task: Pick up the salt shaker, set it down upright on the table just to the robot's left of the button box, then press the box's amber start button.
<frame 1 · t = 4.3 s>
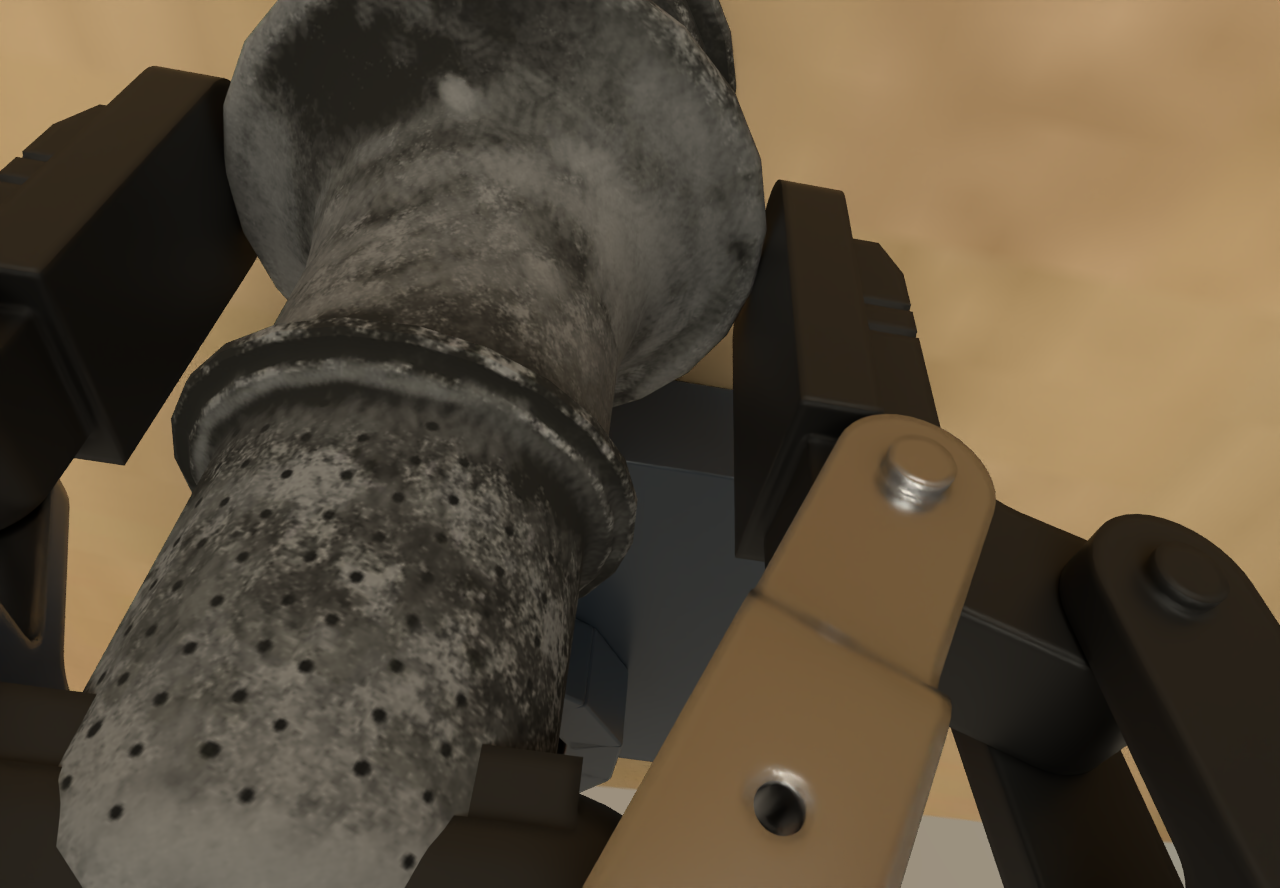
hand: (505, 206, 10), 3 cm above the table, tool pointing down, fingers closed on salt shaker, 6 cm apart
salt shaker: (546, 81, 12), on the table, touching gripper
button box: (552, 551, 20), on the table
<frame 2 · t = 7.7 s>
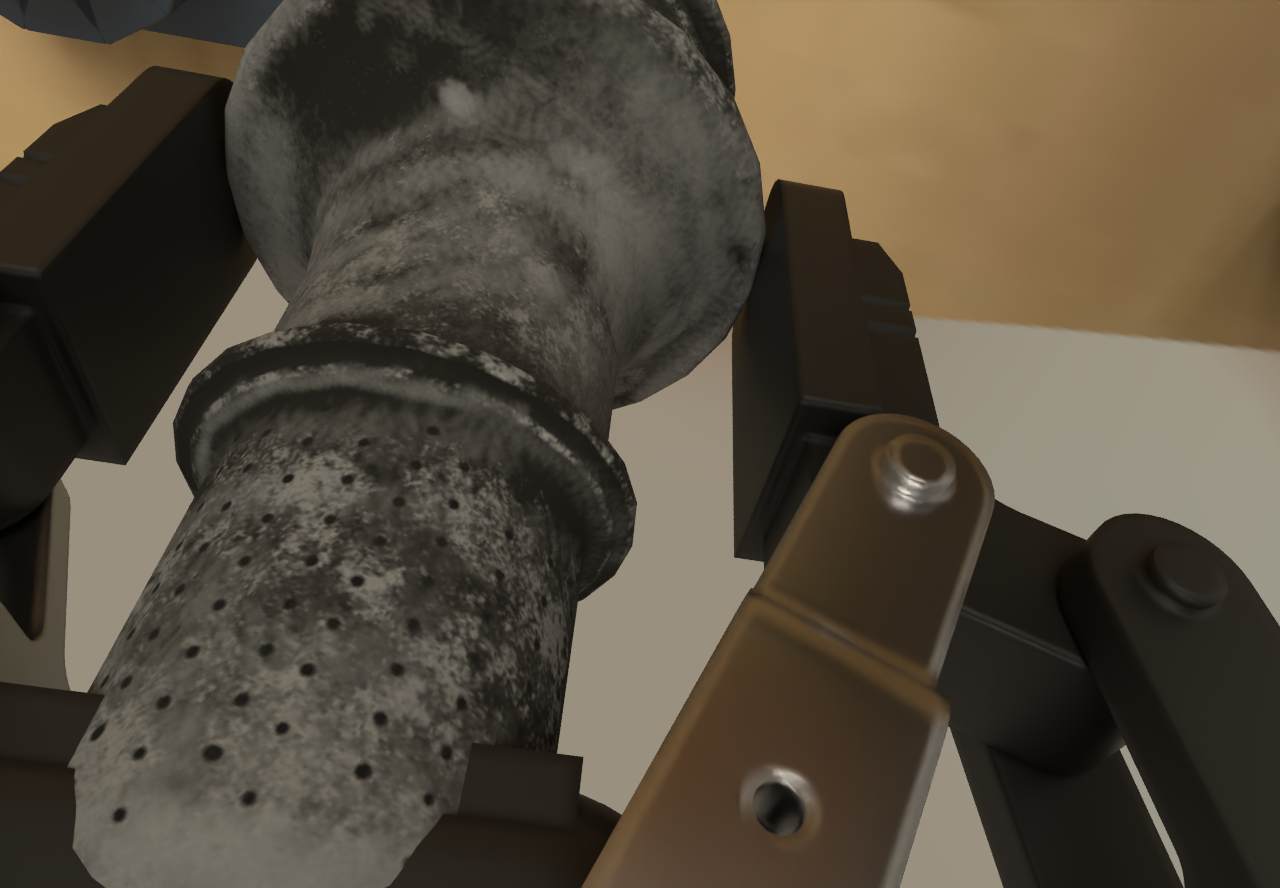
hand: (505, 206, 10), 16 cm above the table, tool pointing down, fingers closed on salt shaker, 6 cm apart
salt shaker: (546, 84, 12), point 13 cm above the table, touching gripper
when the fingers open (3 cm above the table, at t = 11.1 s): salt shaker stays where it is, on the table.
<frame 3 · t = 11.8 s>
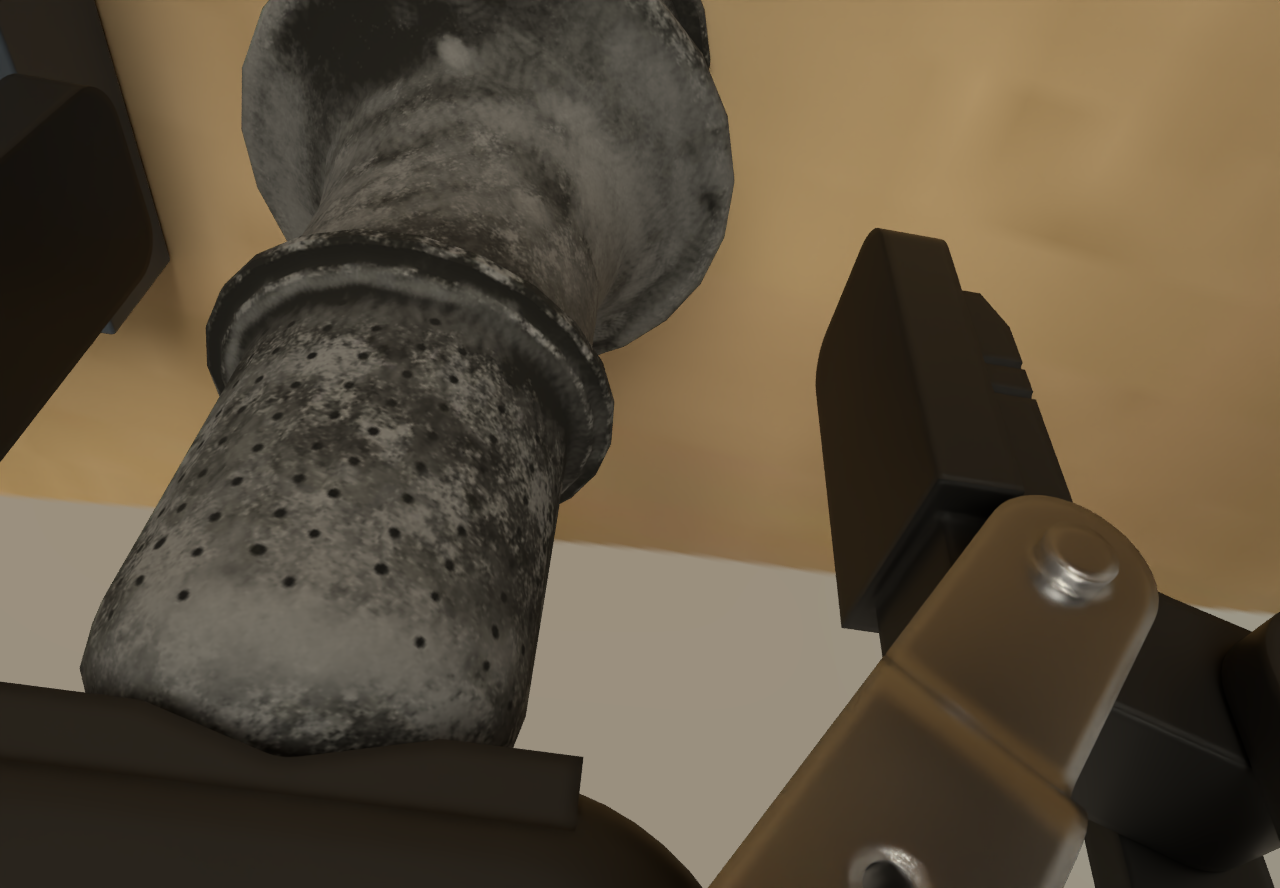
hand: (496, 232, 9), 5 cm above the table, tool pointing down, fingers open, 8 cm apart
salt shaker: (535, 56, 13), on the table
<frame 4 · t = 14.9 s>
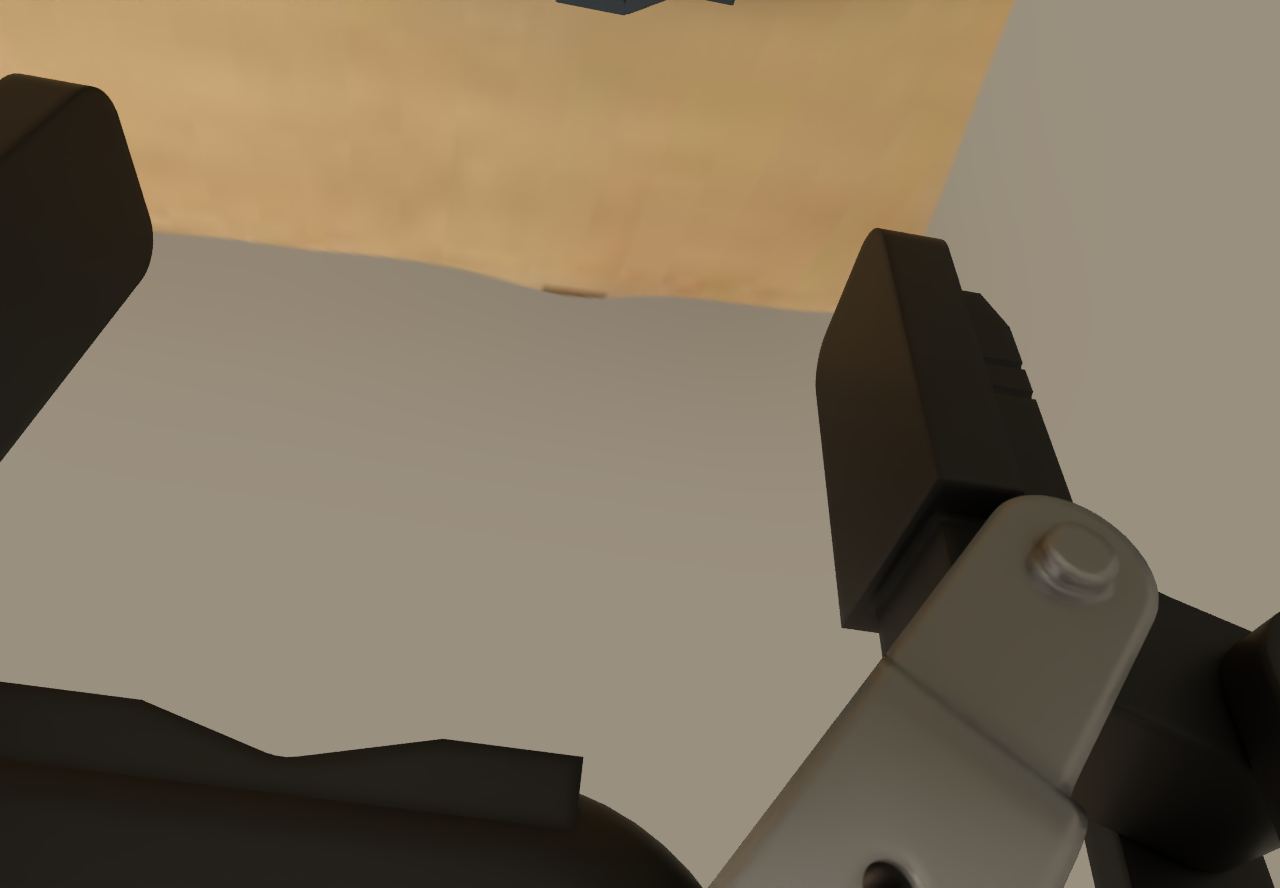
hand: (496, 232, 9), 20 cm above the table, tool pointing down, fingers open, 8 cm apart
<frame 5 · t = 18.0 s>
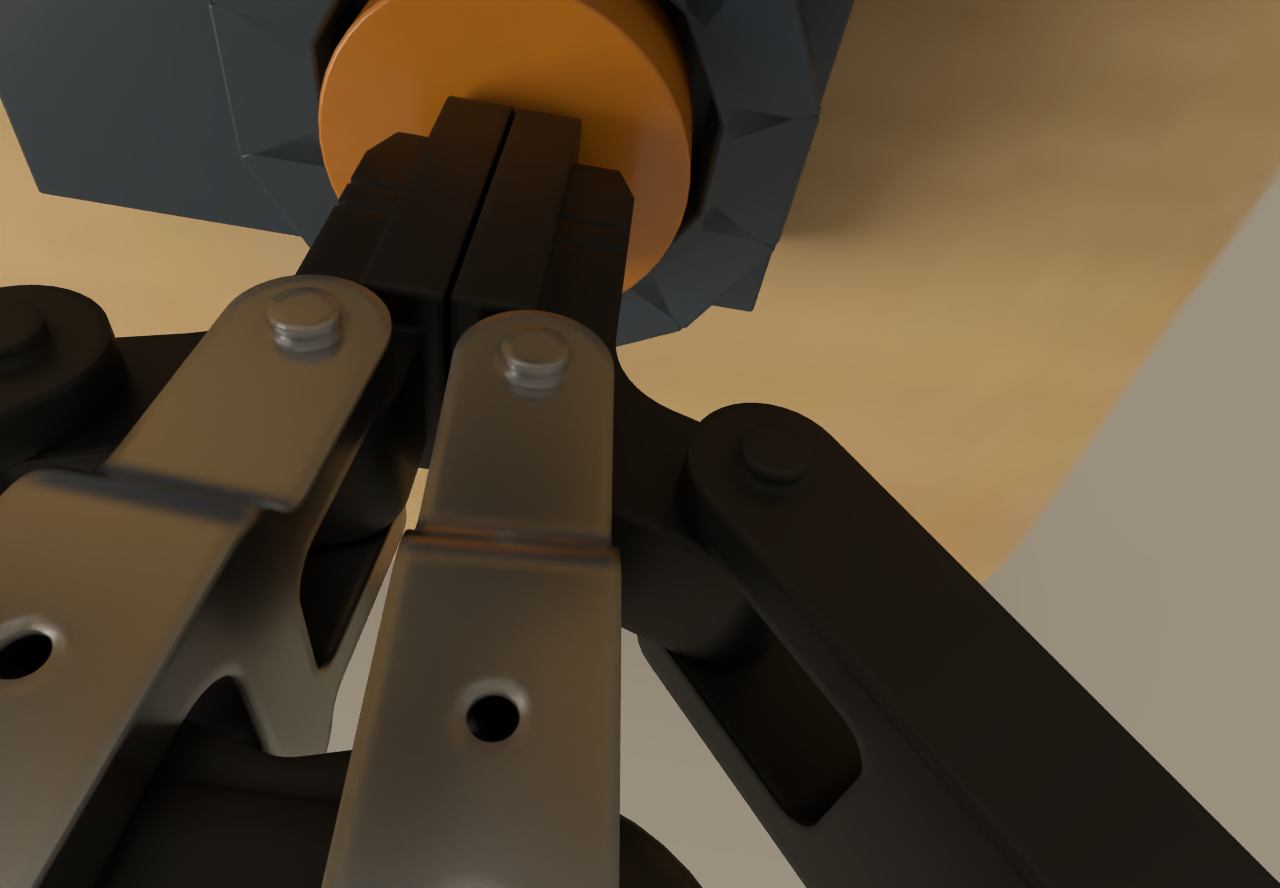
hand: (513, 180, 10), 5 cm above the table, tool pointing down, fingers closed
start button: (517, 138, 11), point 4 cm above the table, slide at -0.3 cm, touching gripper
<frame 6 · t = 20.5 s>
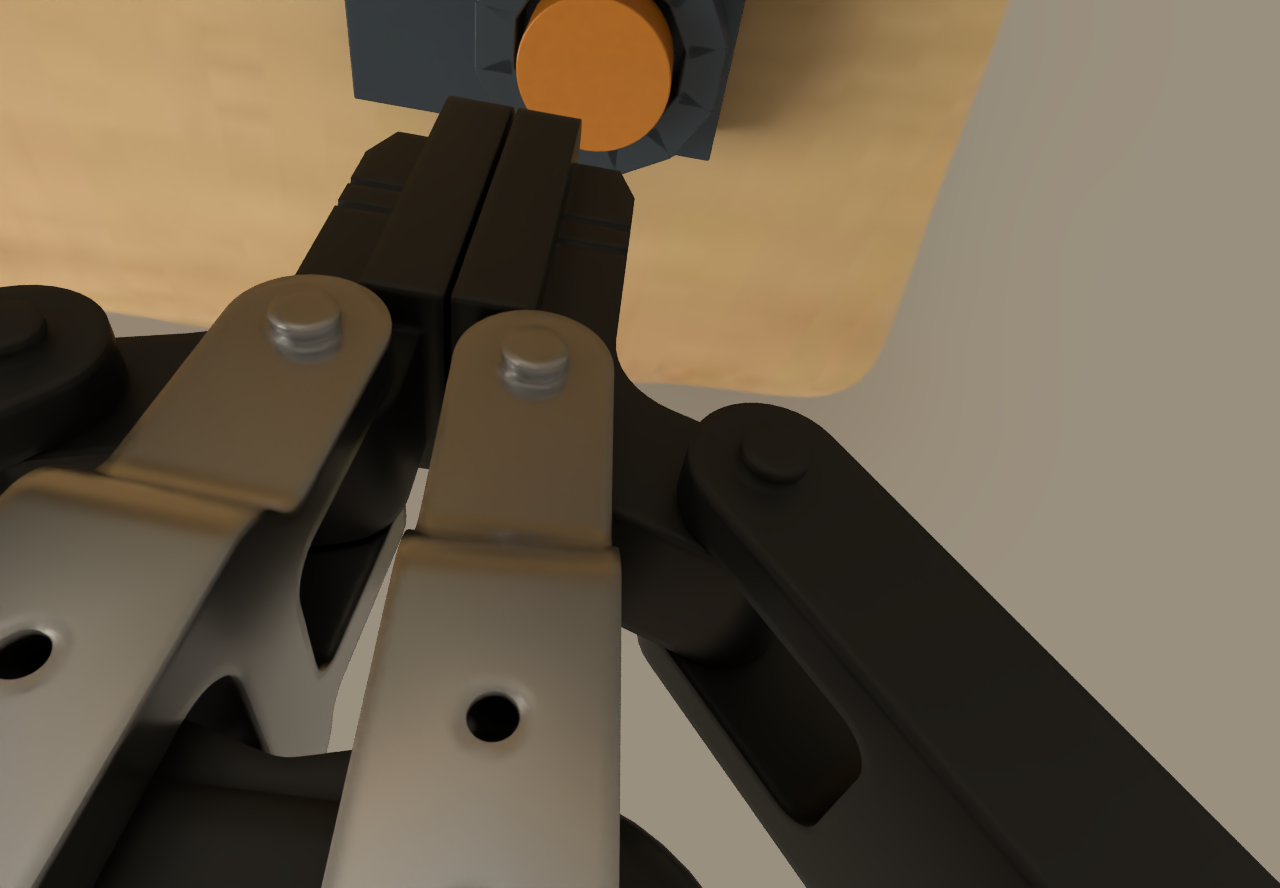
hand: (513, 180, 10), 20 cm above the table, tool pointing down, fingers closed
start button: (596, 66, 25), point 4 cm above the table, slide at 0.1 cm
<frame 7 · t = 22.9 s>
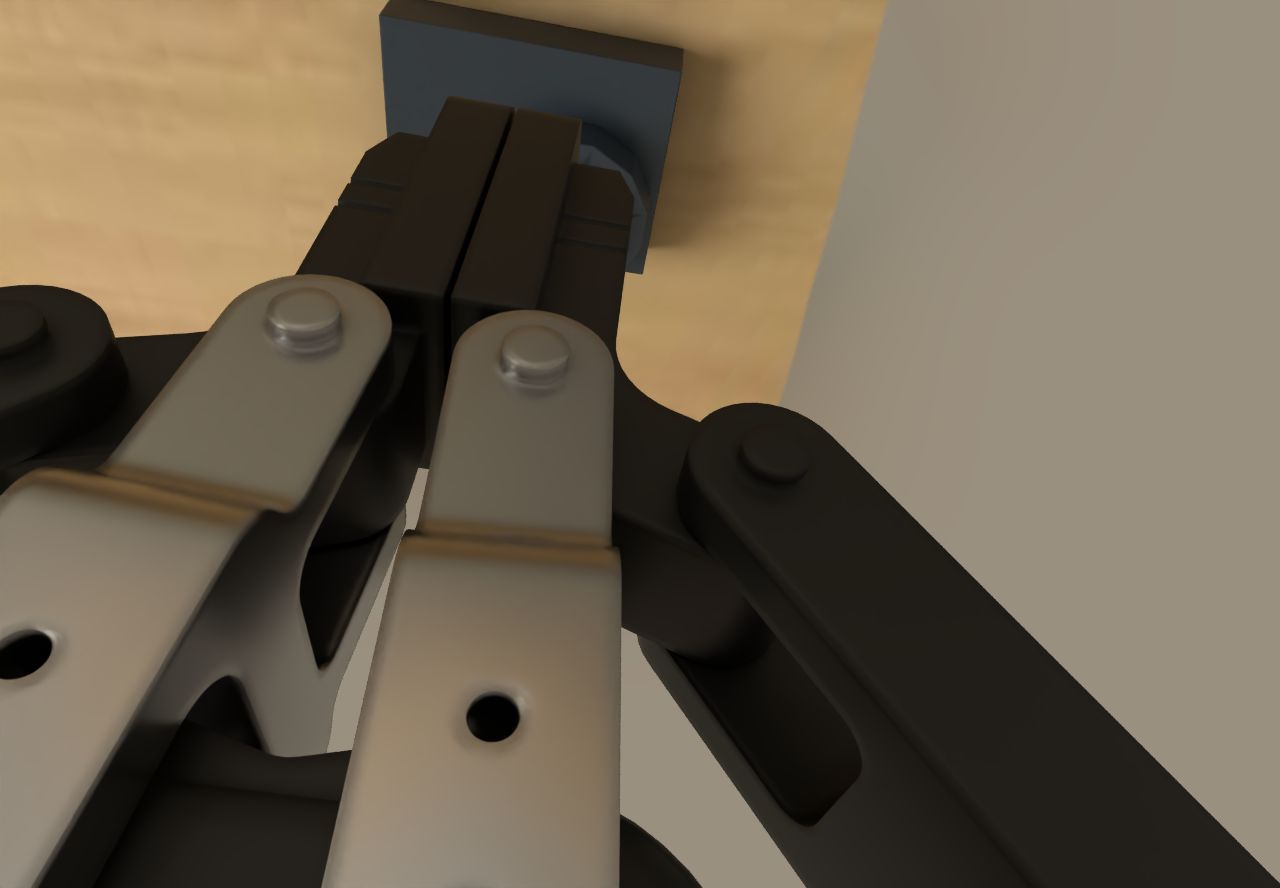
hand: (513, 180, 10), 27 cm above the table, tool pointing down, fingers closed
button box: (532, 134, 38), on the table
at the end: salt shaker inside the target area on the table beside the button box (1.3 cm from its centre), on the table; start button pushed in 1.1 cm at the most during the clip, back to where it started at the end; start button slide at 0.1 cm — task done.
